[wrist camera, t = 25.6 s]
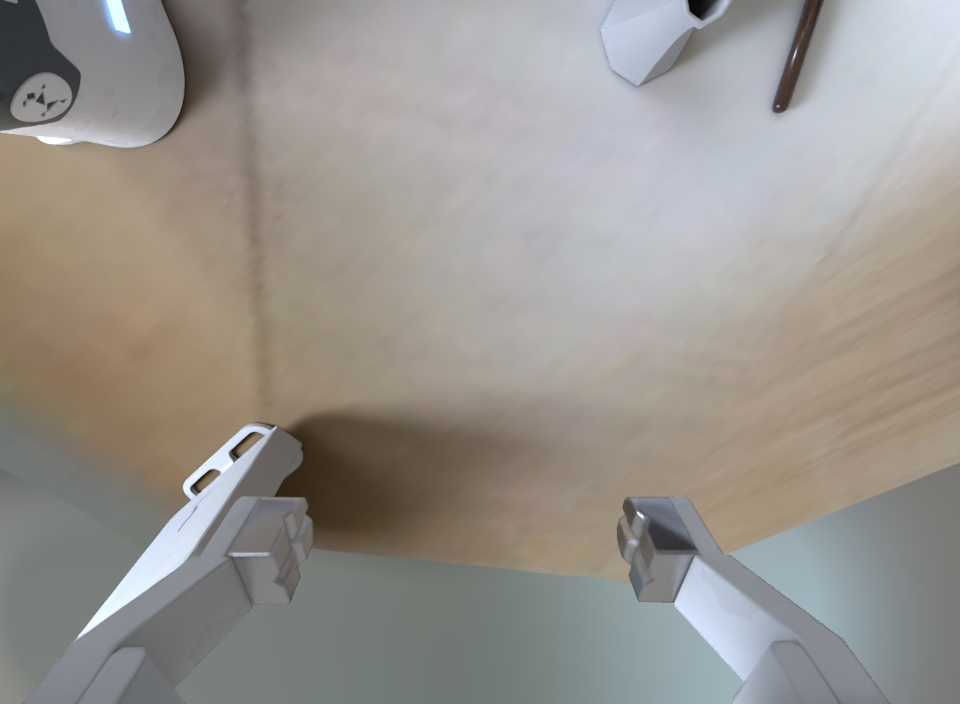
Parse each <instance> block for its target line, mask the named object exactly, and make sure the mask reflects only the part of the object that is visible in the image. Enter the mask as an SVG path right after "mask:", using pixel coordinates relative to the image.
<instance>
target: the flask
mask: <svg viewBox="0 0 960 704" xmlns="http://www.w3.org/2000/svg"><path fill="white" fill-rule="evenodd" d="M731 1H732V0H615V2H614V4H613V6H612V8H611V10H610V12H609V14H608V16H607V18H606V20H605V22H604V24H603V25H602V27H601V29H600V31H601V35H602V39H603V42H604V46H605V49H606V53H607V57H608V60H609V64H610V68H611V69H612V70H614V71H615V72H617V73H618V74H620V75H621V76H623V77H624V78H626V79H627V80H629V81H630V82H632V83H633V84H634V85H636V86H637V87H638V86H640V85H642V84H644V83H645V82H647V81H649V80H651V79H653V78H655V77H657V76H658V75H660V74H662V73H664V72H666V71H668V70H669V69H671V67H672V66H673V64H674V62H675V61H676V59H677V57H678V56H679V54H680V52H681V51H682V49H683V47H684V46H685V44H686V42H687V41H688V39H689V37H690V36H691V34H692V32H693V31H694V29H695V28H697V29H701V28H703V27H705V26H706V25H708V24H710V23H712V22H714V21H715V20H717V19H719V18H721V17H722V16H723V14H724V13H725V11H726V10H727V8H728V6H729V5H730V3H731Z"/></svg>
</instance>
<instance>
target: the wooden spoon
mask: <svg viewBox="0 0 960 704" xmlns="http://www.w3.org/2000/svg"><path fill="white" fill-rule="evenodd" d="M823 2H824V0H806V2H805V6H804V9H803V12H802V15H801V18H800V21H799V24H798V28H797V31H796V34H795V37H794V40H793V43H792V46H791V50H790V53H789V56H788V59H787V62H786V65H785V68H784V72H783V75H782V78H781V81H780V84H779V87H778V91H777V94H776V97H775V100H774V103H773V107H772V109H773V111H774V112H775V113H782V112H784V111H785V110H786V109H787V108H788V106H789V104H790V101H791V98H792V95H793V92H794V89H795V86H796V83H797V80H798V77H799V74H800V71H801V68H802V65H803V62H804V59H805V56H806V53H807V50H808V47H809V44H810V41H811V38H812V35H813V32H814V29H815V26H816V23H817V20H818V17H819V14H820V11H821V8H822V5H823Z"/></svg>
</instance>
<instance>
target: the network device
mask: <svg viewBox="0 0 960 704" xmlns="http://www.w3.org/2000/svg"><path fill="white" fill-rule="evenodd" d="M251 432H260V433H262V434H264V435H265V436H264V437H263V438H262V439H260V440H259V441H258V442H257V443H256V444H255V445H254V446H252V447H251V448H250V449H249V450H248V451H247V452H246V453H245V454H243V455H242V456H241V457H240V458H239V459H238V458H236V457H235V456H234V455H233V454H232V452H231V449H232V448H234V447H235V446H236V445H237V444H238V443H239V442H240V441H241V440H242V439H244V438H245V437H246V436H247V435H248V434H249V433H251ZM301 447H302V443H301V442H299V441H298V440H296V439H295V438H294V437H292V436H291V435H289V434H288V433H286V432H285V431H284V430H282V429H281V428H279V427H278V426H275V427H274V428H273V427H271V426H269V425H266V424H261V423H253V424H249V425H246V426H245V427H243V428H242V429H241V430H240V431H239V432H238V433H237V434H236V435H235V436H233V437H232V438H231V439H230V440H229V441H228V442H227V443H226V444H225V445H224V446H223V447H221V448H220V449H219V450H218V451H217V452H216V453H215V454H214V455H213V456H212V457H211V458H209V459H208V460H207V461H206V462H205V463H204V464H203V465H202V466H201V467H200V468H199V469H197V470H196V471H195V472H194V473H193V474H192V475H191V476H190V477H189V478H188V479H187V480H186V481H185V483H184V485H183V489H184V492H185V494H186V495H187V496H188V497H189V498H190V499H191V501H190V502H189V503H188V504H187V505H186V506H184V507H183V508H182V509H181V510H180V511H179V512H178V513H177V514H176V515H175V516H174V517H173V518H172V519H171V520H170V521H169V522H168V523H167V525H166V526H165V527H164V528H163V529H162V531H161V532H160V533H159V535H158V536H157V537H156V538H155V540H154V541H153V542H152V543H151V545H150V546H149V547H148V548H147V550H146V551H145V552H144V554H143V555H142V556H141V557H140V559H139V560H138V561H137V562H136V564H135V565H134V566H133V567H132V569H131V570H130V572H129V573H128V574H127V575H126V576H125V578H124V579H123V580H122V581H121V583H120V584H119V585H118V586H117V588H116V589H115V590H114V592H113V593H112V594H111V595H110V597H109V598H108V599H107V600H106V602H105V603H104V604H103V605H102V607H101V608H100V609H99V611H98V612H97V613H96V614H95V616H94V617H93V618H92V619H91V621H90V622H89V623H88V625H87V626H86V627H85V628H84V630H83V631H82V632H81V633H80V635H79V636H78V637H77V638H76V640H77V639H78V638H79V637H81V636H82V635H84V634H85V633H86V632H88V631H89V630H91V629H92V628H93V627H95V626H96V625H98V624H99V623H101V622H102V621H103V620H105V619H106V618H108V617H109V616H110V615H112V614H113V613H115V612H116V611H117V610H119V609H120V608H122V607H123V606H124V605H126V604H127V603H129V602H130V601H132V600H133V599H134V598H136V597H137V596H139V595H140V594H141V593H143V592H144V591H146V590H147V589H148V588H150V587H151V586H153V585H154V584H156V583H157V582H158V581H160V580H161V579H163V578H164V577H165V576H167V575H168V574H170V573H171V572H172V571H174V570H175V569H177V568H178V567H179V566H181V565H182V564H184V563H185V562H187V561H188V560H189V559H191V558H192V557H198V556H201V554H202V552H203V551H204V549H205V548H206V546H207V545H208V543H209V542H210V540H211V539H212V537H213V536H214V534H215V532H216V531H217V529H218V528H219V526H220V525H221V523H222V522H223V520H224V519H225V517H226V516H227V514H228V513H229V511H230V509H231V508H232V506H233V505H234V503H235V502H236V501H237V500H238V499H239V498H241V497H242V496H256V497H263V496H265V497H274V496H275V494H276V492H277V490H278V489H279V487H280V485H281V483H282V481H283V479H285V478H286V477H287V476H288V475H290V474H291V473H292V472H293V471H294V470H296V469H297V468H298V467H299V466H300V464H301V462H302V460H303V452H302V450H301ZM294 459H295V460H294ZM210 469H217V470H219V471H220V472H221V475H220V476H218V477H217V478H216V479H215V480H214V481H213V482H212V483H210V484H209V485H208V486H207V487H206V488H205V489H204V490H203V491H201V492H200V493H199V492H197V491H196V490H195V489H194V488H193V484H194V483H195V482H196V481H197V480H198V479H199V478H200V477H201V476H202V475H204V474H205V473H206V472H207V471H208V470H210Z"/></svg>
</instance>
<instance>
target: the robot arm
mask: <svg viewBox="0 0 960 704" xmlns="http://www.w3.org/2000/svg"><path fill="white" fill-rule="evenodd" d="M184 88H185V78H184V67H183V61H182V56H181V52H180V48H179V45H178V42H177V39H176V36H175V34H174V31H173V29H172V26H171V24H170V22H169V19H168V17H167V15H166V13H165V10H164V7H163V5H162V1H161V0H0V132H3V133H11V134H20V135H29V136H36V137H37V138H38V139H39V140H41V141H43V142H45V143H48V144H55V145H70V144H75V143H79V142H83V141H88V142H93V143H98V144H103V145H108V146H113V147H120V148H134V147H140V146H144V145H148V144H150V143H153V142H155V141H156V140H158V139H160V138H161V137H162V136H164V135H165V134H166V133H167V132H168V131H169V130H170V128H171V127H172V126H173V124H174V123H175V121H176V119H177V118H178V115H179V113H180V110H181V107H182V103H183V98H184ZM622 508H623V510H624V513H625V515H624V516H623V517H621V518H620V519H619V522H618V526H617V540H618V545H619V549H620V552H621V555H622V558H623V559H624V560H625V561H627V562H628V563H629V564H630V565H631V569H630V572H629V577H630V580H631V583H632V585H633V588H634V591H635V594H636V596H637V599H638V601H639V602H662V603H674V604H673V605H674V606H675V607H676V608H677V609H678V610H679V611H680V612H681V613H682V615H683V616H684V617H685V618H686V619H687V620H688V621H689V622H690V623H691V624H692V625H693V626H694V628H695V629H696V630H697V631H698V632H699V633H700V634H701V635H702V636H703V637H704V638H705V640H706V641H707V642H708V643H709V644H710V645H711V646H712V647H713V648H714V649H715V650H716V652H717V653H718V654H719V655H720V656H721V657H722V658H723V659H724V660H725V661H726V662H727V663H728V665H729V666H730V667H731V668H732V669H733V670H734V671H735V672H736V673H737V674H738V675H739V676H740V678H741V679H742V680H743V681H744V683H743V685H742V686H741V688H740V689H739V691H738V692H737V693H736V695H735V696H734V698H733V701H732V703H731V704H891V703H890V702H889V701H888V699H887V698H886V697H885V695H884V694H883V693H882V691H881V690H880V689H879V687H878V686H877V684H876V683H875V682H874V680H873V679H872V678H871V676H870V675H869V674H868V672H867V671H866V670H865V668H864V667H863V665H862V664H861V663H860V662H859V660H858V659H857V657H856V656H855V655H854V653H853V652H852V651H851V649H850V648H849V647H848V645H847V644H846V642H845V641H844V640H843V639H842V638H841V637H839V636H838V635H837V634H835V633H834V632H833V631H831V630H830V629H829V628H827V627H826V626H825V625H823V624H822V623H820V622H819V621H818V620H817V619H815V618H814V617H813V616H811V615H810V614H809V613H807V612H806V611H805V610H803V609H802V608H800V607H799V606H798V605H796V604H795V603H794V602H792V601H791V600H790V599H788V598H787V597H786V596H784V595H783V594H782V593H780V592H779V591H778V590H776V589H775V588H774V587H772V586H771V585H769V584H768V583H767V582H766V581H764V580H763V579H761V578H760V577H759V576H757V575H756V574H755V573H753V572H752V571H750V570H749V569H748V568H747V567H745V566H744V565H743V564H741V563H740V562H738V561H737V560H736V559H735V558H733V557H732V556H731V555H724V554H723V553H722V551H721V549H720V548H719V546H718V545H717V543H716V541H715V540H714V538H713V536H712V535H711V533H710V532H709V530H708V528H707V527H706V525H705V523H704V522H703V520H702V518H701V517H700V515H699V514H698V512H697V510H696V509H695V507H694V505H693V504H692V502H691V501H690V500H689V499H688V498H687V497H627V498H626V499H625V500H624V504H623V507H622ZM307 510H308V504H307V501H306V498H301V497H265V496H263V497H256V496H242V497H241V498H239V499H238V500H237V501H236V502H235V503H234V505H233V506H232V508H231V509H230V511H229V513H228V514H227V516H226V517H225V519H224V520H223V522H222V523H221V525H220V526H219V528H218V529H217V531H216V532H215V534H214V536H213V537H212V539H211V540H210V542H209V543H208V545H207V546H206V548H205V549H204V551H203V552H202V554H201V556H198V557H192V558H191V559H189V560H188V561H187V562H185V563H184V564H182V565H181V566H179V567H178V568H177V569H175V570H174V571H172V572H171V573H170V574H168V575H167V576H165V577H164V578H163V579H161V580H160V581H158V582H157V583H156V584H154V585H153V586H151V587H150V588H148V589H147V590H146V591H144V592H143V593H141V594H140V595H139V596H137V597H136V598H134V599H133V600H132V601H130V602H129V603H127V604H126V605H124V606H123V607H122V608H120V609H119V610H117V611H116V612H115V613H113V614H112V615H110V616H109V617H108V618H106V619H105V620H103V621H102V622H101V623H99V624H98V625H96V626H95V627H93V628H92V629H91V630H89V631H88V632H86V633H85V634H84V635H82V636H81V637H79V638H78V639H77V640H75V641H74V642H72V643H71V644H70V645H69V646H67V648H66V649H65V650H64V651H63V653H62V654H61V655H60V656H59V658H58V659H57V660H56V661H55V663H54V664H53V665H52V666H51V668H50V669H49V670H48V671H47V673H46V674H45V675H44V677H43V678H42V679H41V680H40V682H39V683H38V684H37V685H36V687H35V688H34V689H33V690H32V692H31V693H30V694H29V695H28V697H27V698H26V699H25V700H24V702H23V703H22V704H185V702H184V701H183V699H182V698H181V697H180V695H179V694H178V693H177V691H176V690H175V688H176V687H177V686H178V685H179V684H180V683H181V682H182V681H183V680H184V679H185V678H186V677H187V675H188V674H189V673H190V672H191V671H192V670H193V669H194V668H195V667H196V666H197V665H198V664H199V663H200V662H201V661H202V660H203V659H204V658H205V657H206V656H207V655H208V654H209V653H210V651H212V649H213V648H214V647H215V646H216V645H217V644H218V643H219V642H220V641H221V640H222V639H223V638H224V637H225V636H226V635H227V634H228V633H229V632H230V631H231V630H232V629H233V628H234V627H235V626H236V624H238V622H239V621H240V620H241V619H242V618H243V617H244V616H245V615H246V614H247V613H248V612H249V611H250V610H251V609H252V606H253V605H278V604H279V605H281V604H290V602H291V599H292V596H293V594H294V591H295V589H296V586H297V584H298V581H299V579H300V573H299V570H298V567H299V566H300V565H301V564H302V563H303V562H304V561H305V560H306V559H307V558H308V555H309V553H310V550H311V547H312V541H313V536H314V530H313V523H312V519H311V518H309V517H308V516H307V515H306V512H307Z"/></svg>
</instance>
